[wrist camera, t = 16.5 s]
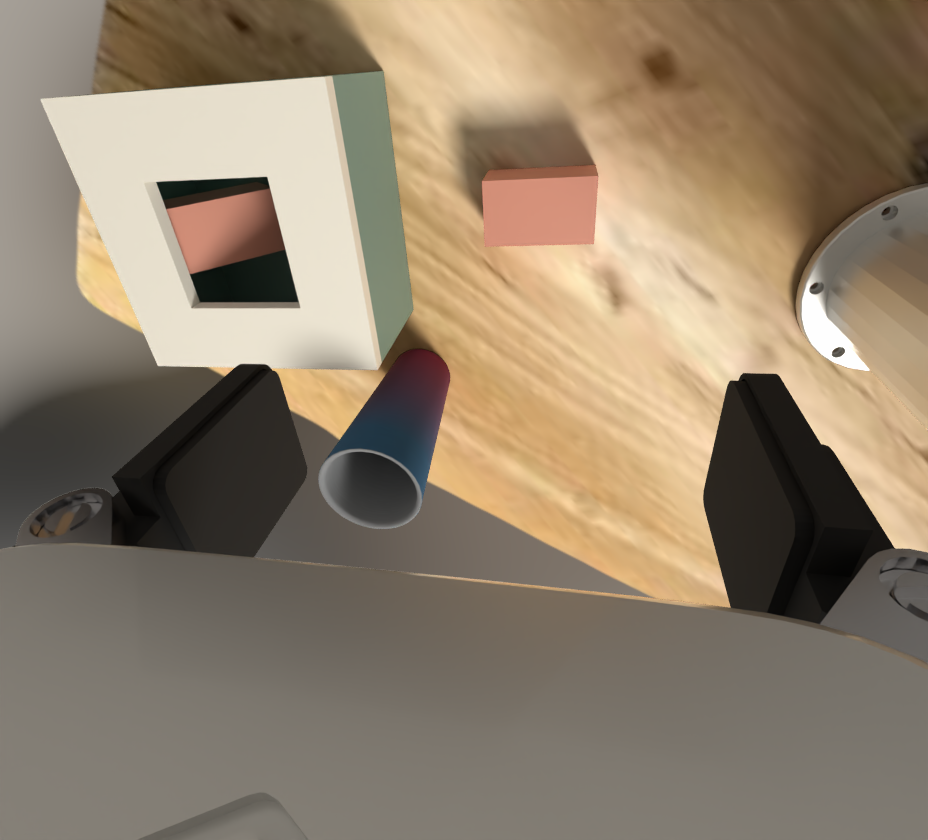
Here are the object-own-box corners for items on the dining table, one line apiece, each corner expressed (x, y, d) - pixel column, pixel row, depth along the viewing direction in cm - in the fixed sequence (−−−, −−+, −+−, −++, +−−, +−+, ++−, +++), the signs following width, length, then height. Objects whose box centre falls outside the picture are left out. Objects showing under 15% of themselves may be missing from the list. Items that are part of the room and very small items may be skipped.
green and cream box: (383, 70, 33) (324, 76, 25) (413, 309, 42) (377, 370, 34) (158, 88, 36) (40, 99, 28) (231, 309, 45) (158, 365, 37)
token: (595, 164, 35) (598, 175, 31) (591, 227, 37) (593, 244, 34) (489, 169, 36) (481, 181, 33) (491, 230, 38) (484, 246, 35)
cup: (372, 346, 45) (300, 455, 33) (447, 332, 43) (401, 442, 31) (398, 412, 48) (342, 533, 36) (469, 401, 47) (435, 525, 34)
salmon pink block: (275, 187, 35) (164, 209, 32) (291, 247, 37) (189, 274, 34) (256, 181, 38) (152, 202, 35) (272, 238, 40) (176, 262, 37)
